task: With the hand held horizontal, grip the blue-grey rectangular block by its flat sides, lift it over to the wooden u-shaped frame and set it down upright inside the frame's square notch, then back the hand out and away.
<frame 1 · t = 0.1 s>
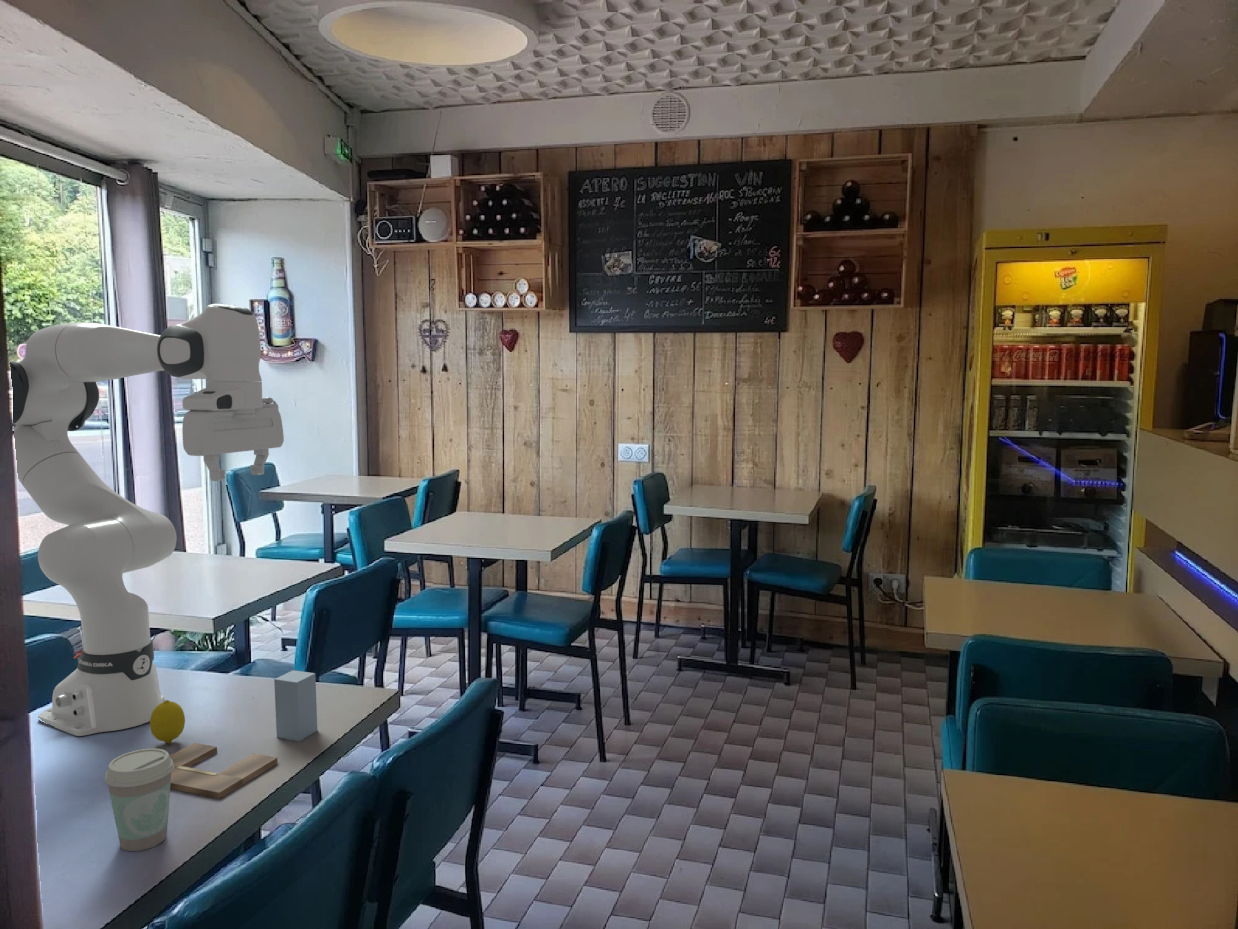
hand: (238, 477, 150), 48 cm above the table, tool pointing down, fingers open, 8 cm apart
lemon: (168, 744, 154), on the table
blue-grey rectangular block: (297, 734, 158), on the table
wooden u-shaped frame: (217, 765, 145), on the table
coffee cup: (144, 841, 122), on the table
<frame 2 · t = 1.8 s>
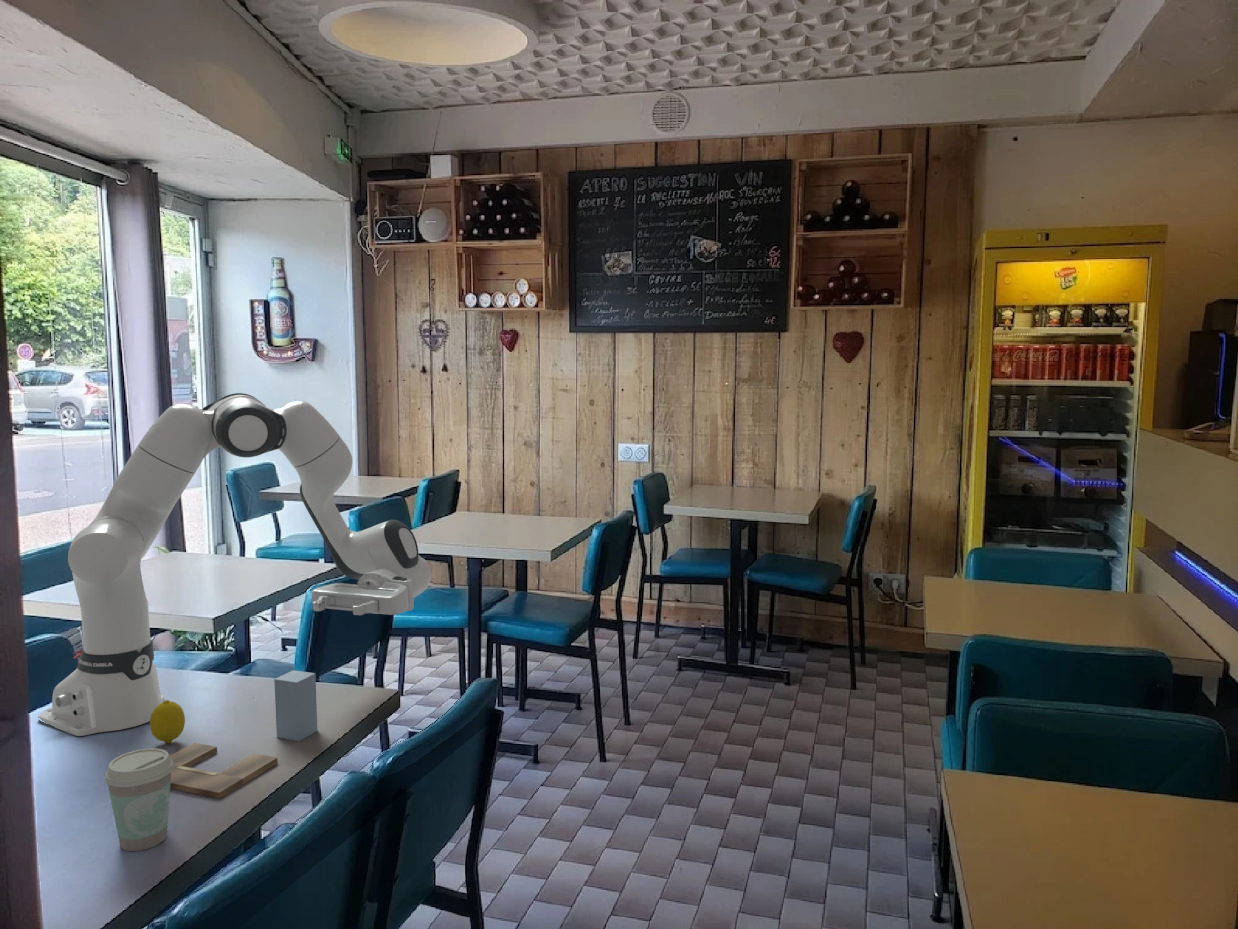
hand: (335, 609, 167), 20 cm above the table, tool horizontal, fingers open, 8 cm apart
nothing on the table moved.
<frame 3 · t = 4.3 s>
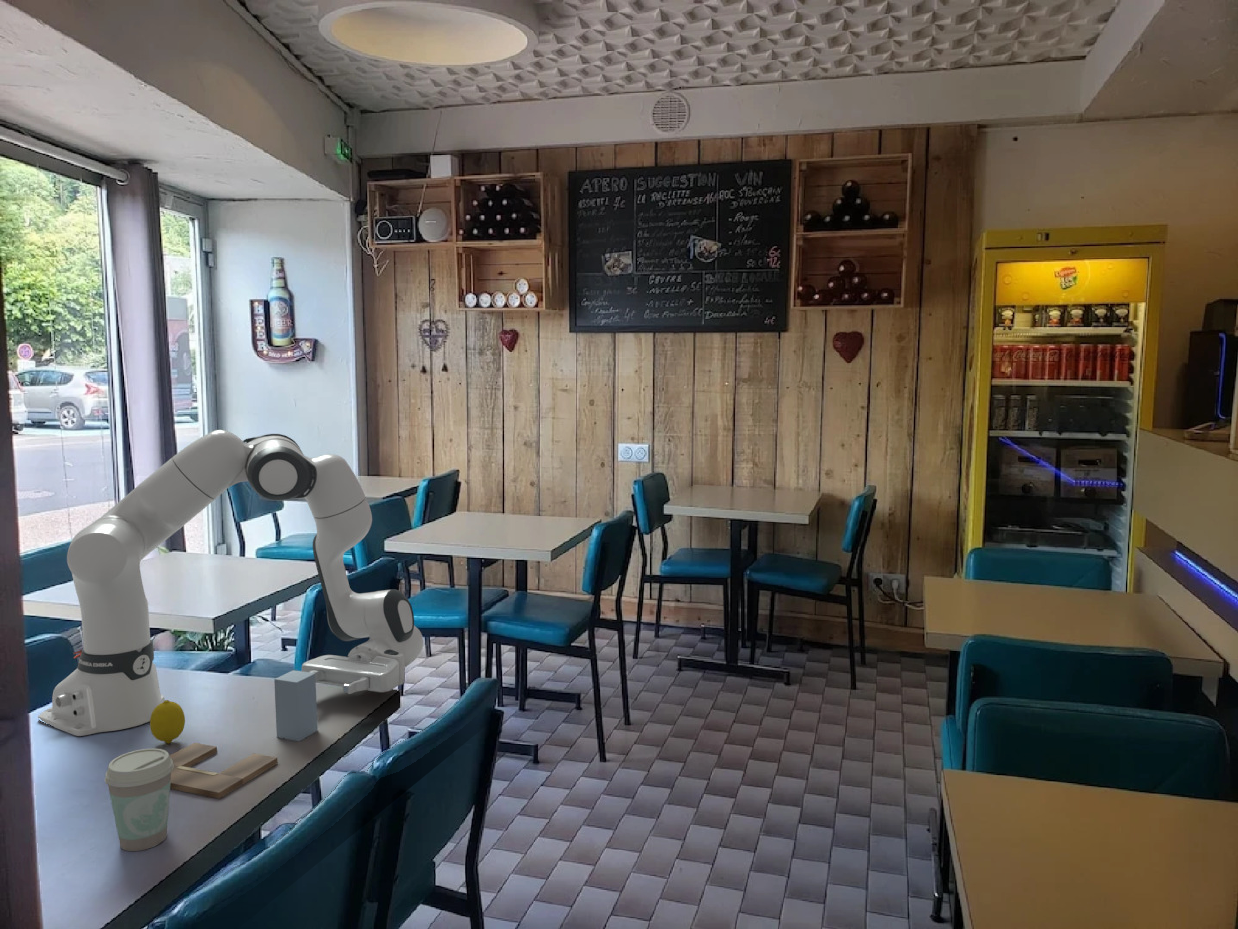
hand: (325, 686, 166), 6 cm above the table, tool horizontal, fingers open, 8 cm apart
nothing on the table moved.
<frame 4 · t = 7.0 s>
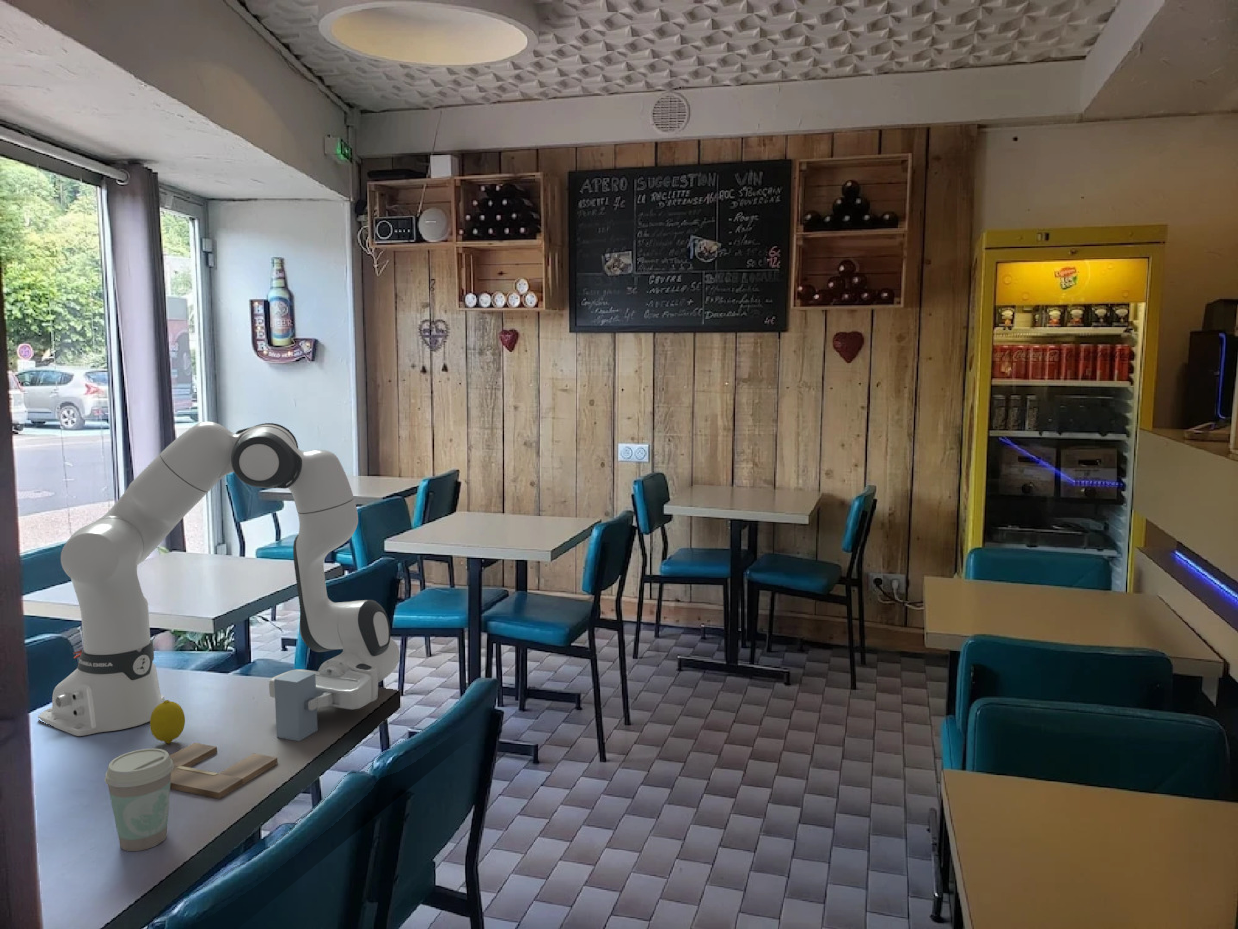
hand: (292, 704, 157), 6 cm above the table, tool horizontal, fingers closed on blue-grey rectangular block, 5 cm apart
blue-grey rectangular block: (297, 733, 158), on the table, touching gripper
everything else where it was.
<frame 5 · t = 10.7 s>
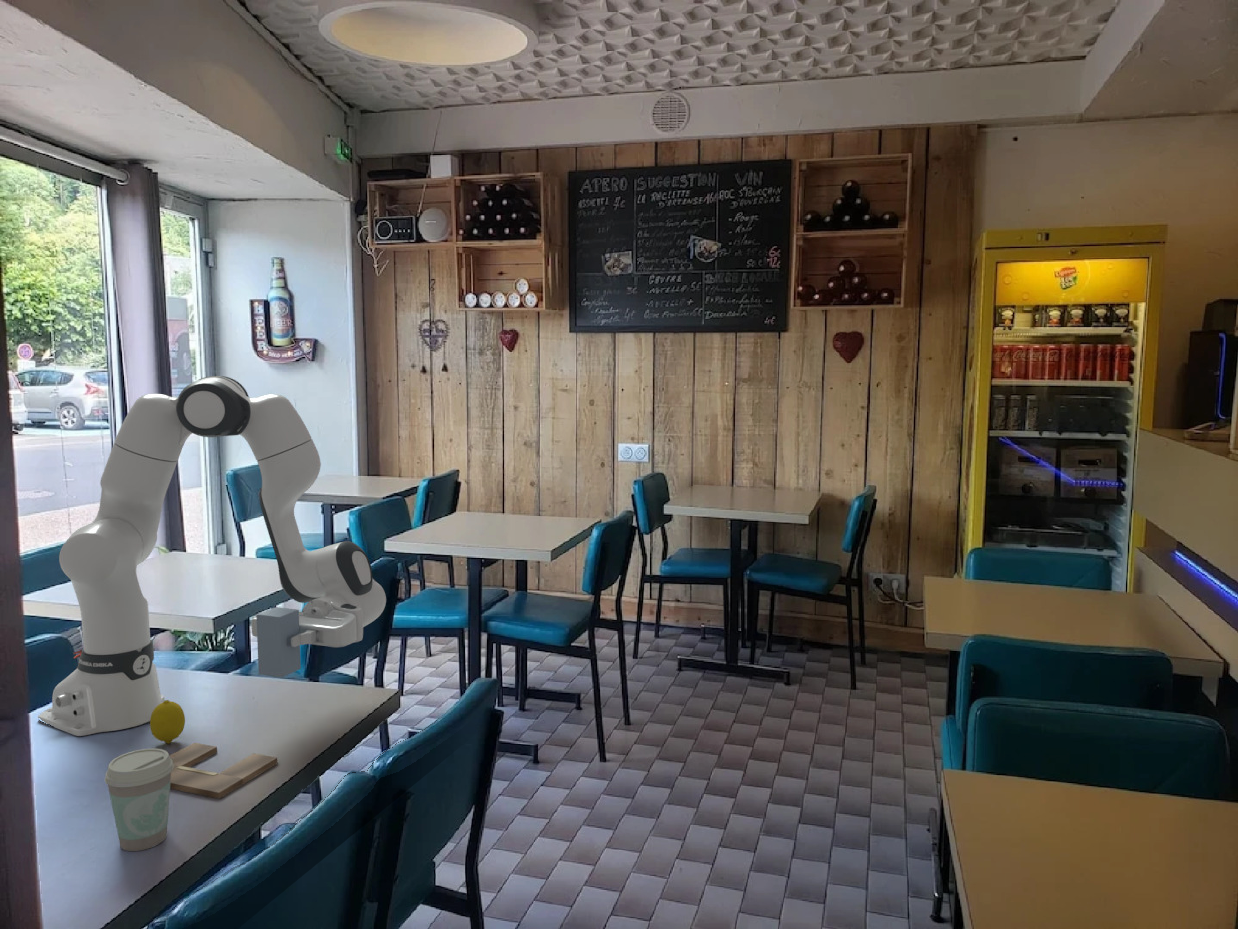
hand: (275, 640, 153), 19 cm above the table, tool horizontal, fingers closed on blue-grey rectangular block, 5 cm apart
blue-grey rectangular block: (279, 671, 155), point 13 cm above the table, touching gripper
everything else where it was.
when the fingers open (7 cm above the table, at t = 14.4 s): blue-grey rectangular block drops 1 cm, on the table.
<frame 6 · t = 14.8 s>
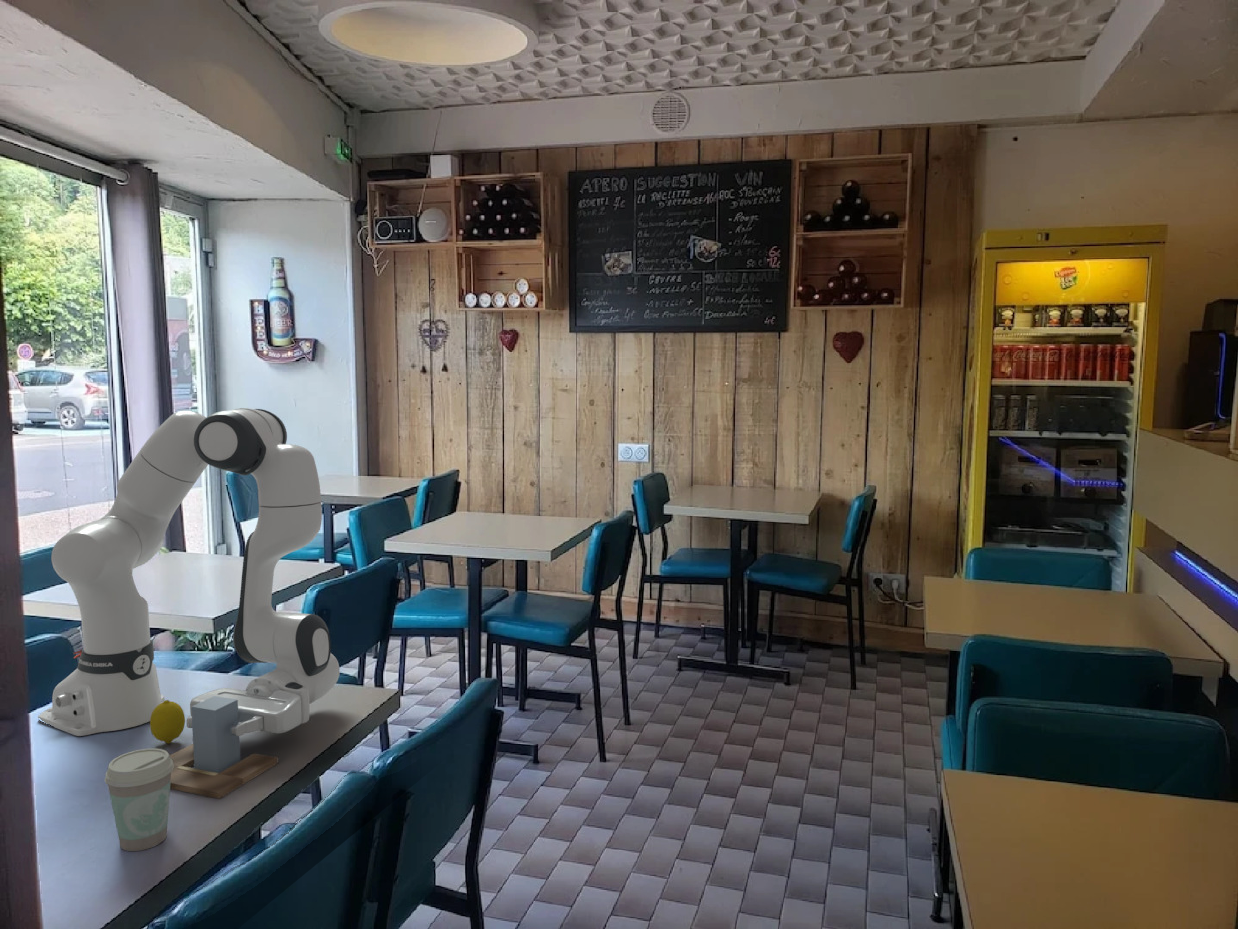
hand: (211, 727, 144), 7 cm above the table, tool horizontal, fingers open, 8 cm apart
blue-grey rectangular block: (217, 765, 145), on the table
everything else where it was.
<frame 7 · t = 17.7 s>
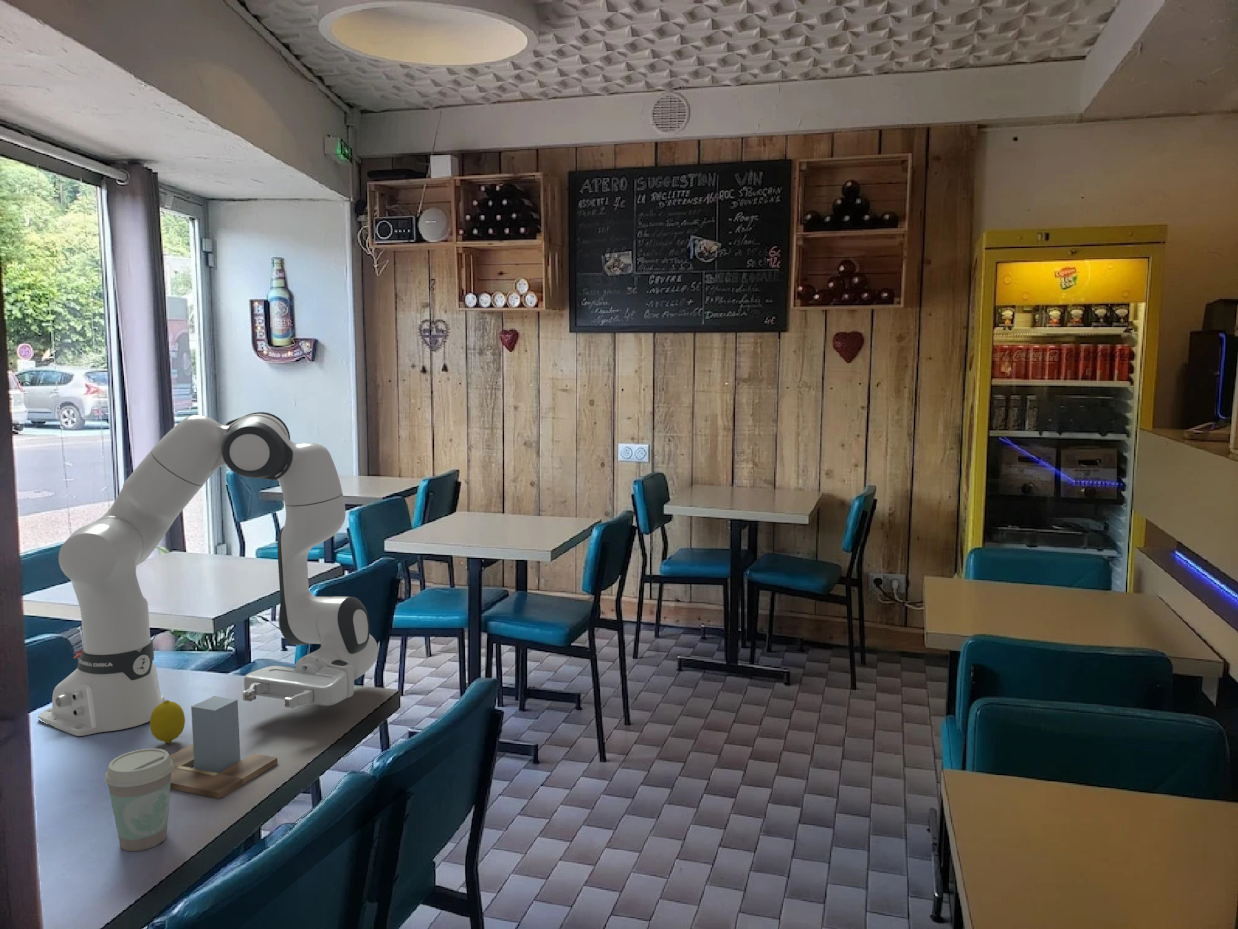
hand: (266, 700, 156), 7 cm above the table, tool horizontal, fingers open, 8 cm apart
nothing on the table moved.
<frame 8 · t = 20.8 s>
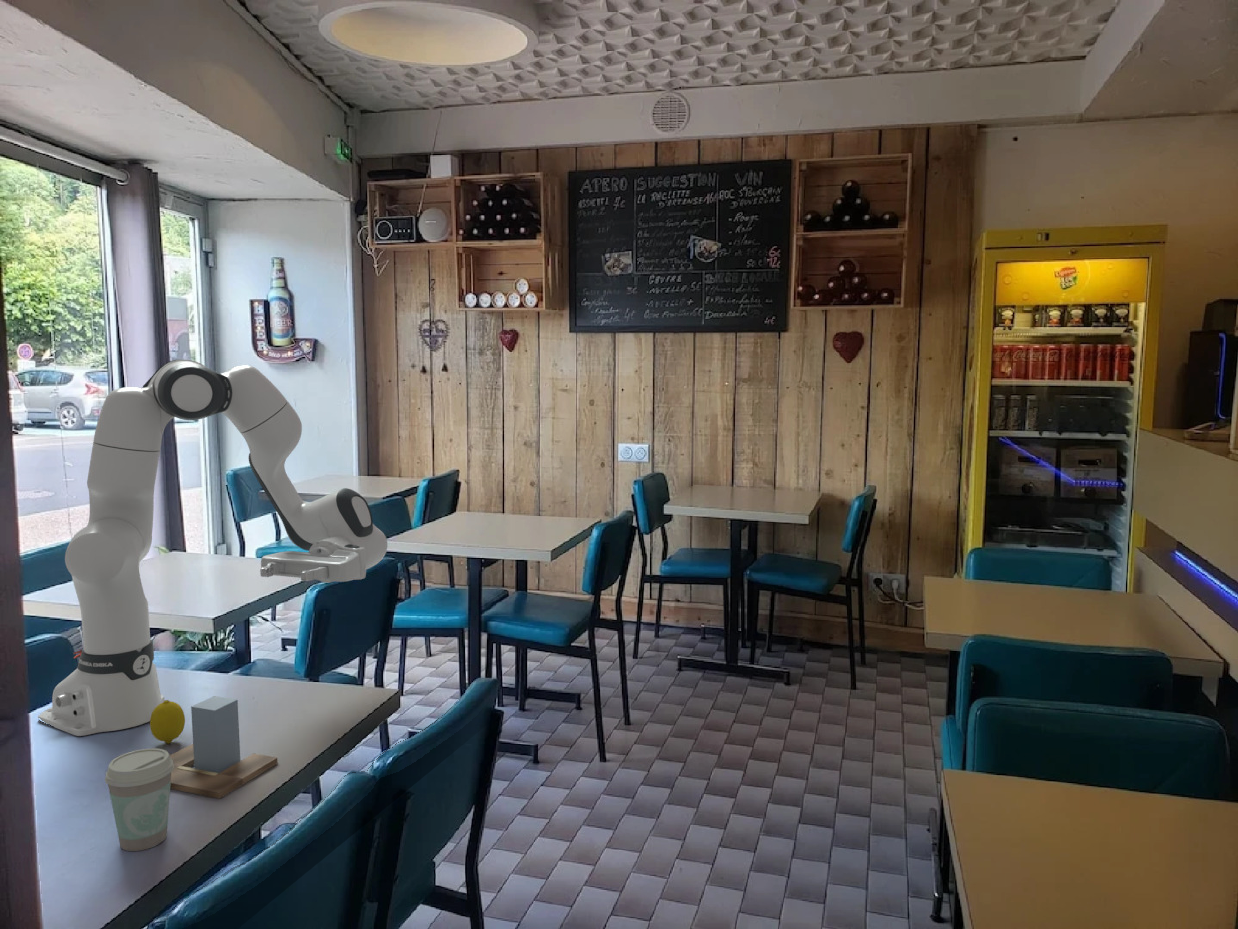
hand: (283, 574, 163), 28 cm above the table, tool horizontal, fingers open, 8 cm apart
nothing on the table moved.
at the end: blue-grey rectangular block inside the target area on the wooden u-shaped frame (0.2 cm from its centre), point 0.0 cm above the wooden u-shaped frame's base; blue-grey rectangular block tilted 0°; the gripper is holding nothing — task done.
